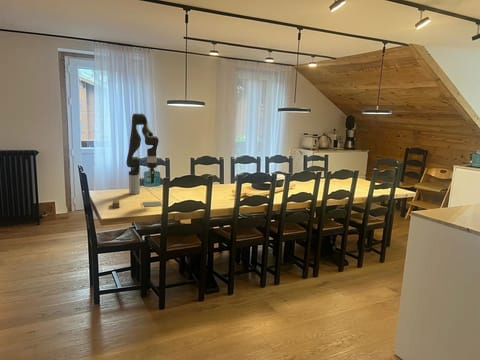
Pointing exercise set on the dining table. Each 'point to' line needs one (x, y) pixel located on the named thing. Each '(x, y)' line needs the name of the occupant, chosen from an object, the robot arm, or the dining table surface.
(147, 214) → the dining table surface
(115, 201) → the ticket block
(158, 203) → the plate
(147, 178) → the data package
